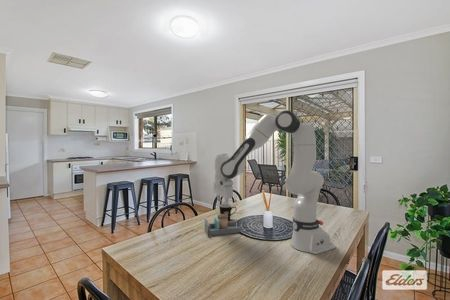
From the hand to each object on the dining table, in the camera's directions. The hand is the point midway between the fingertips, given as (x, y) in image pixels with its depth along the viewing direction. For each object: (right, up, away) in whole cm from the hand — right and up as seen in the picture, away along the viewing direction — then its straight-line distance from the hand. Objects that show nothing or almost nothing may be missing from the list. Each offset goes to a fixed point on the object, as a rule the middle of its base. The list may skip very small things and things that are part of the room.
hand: (222, 203), depth 133 cm
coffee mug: (+3, -17, +19) cm, 26 cm away
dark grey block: (0, -17, +1) cm, 17 cm away
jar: (0, -17, +1) cm, 17 cm away
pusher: (-3, -17, 0) cm, 17 cm away
